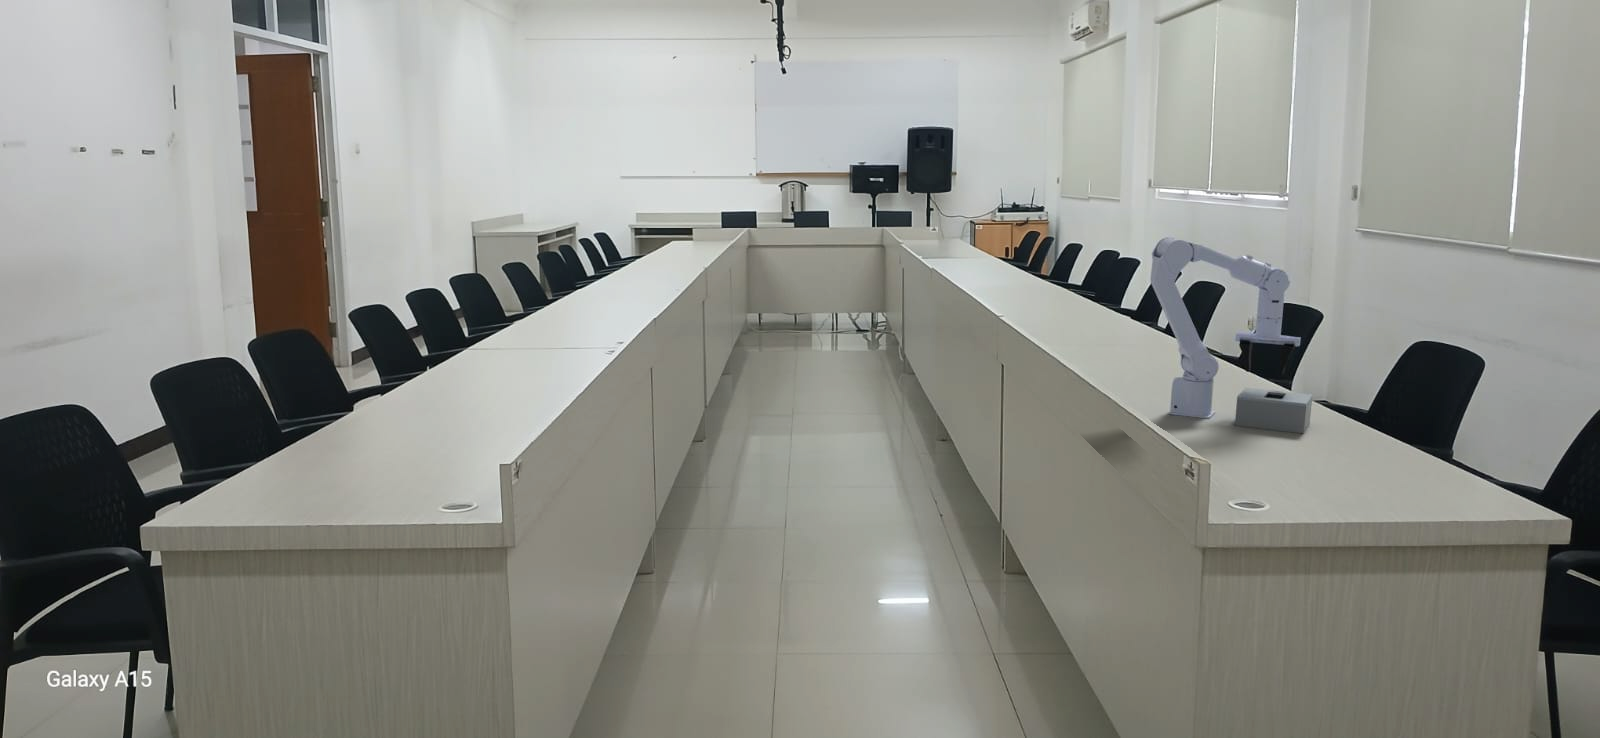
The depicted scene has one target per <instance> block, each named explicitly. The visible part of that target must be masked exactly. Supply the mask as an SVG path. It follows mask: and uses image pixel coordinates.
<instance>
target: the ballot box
mask: <svg viewBox="0 0 1600 738" xmlns="http://www.w3.org/2000/svg"><path fill="white" fill-rule="evenodd" d="M1312 402H1313V394H1310V393H1301V392H1293V391H1292V392H1291V391H1284V390H1283V391H1281V390H1273V389H1272V390H1271V389H1265V388H1264V389H1263V388H1261V389H1260V388H1252V387H1244V389H1243V390H1242V391H1241V392H1240V393H1239V394H1238V395H1237V397H1236V409H1235V422H1234V426H1236V427H1244V428H1253V429H1263V430H1270V431H1278V432H1279V431H1280V432H1287V433H1296V434H1305V432H1306V430H1307V429H1308V428H1309V425H1310V424H1311V414H1312V413H1311V412H1312Z"/></svg>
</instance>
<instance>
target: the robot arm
mask: <svg viewBox="0 0 1600 738" xmlns="http://www.w3.org/2000/svg"><path fill="white" fill-rule="evenodd" d="M1151 257H1152V259H1151V260H1152V262H1151V272H1150V278H1149V279H1150V284H1151V286H1152V288H1153V290H1154V293H1155V295H1156V297H1157V299H1158V301H1159V303H1160V304H1159V305H1160V306H1161V308H1162V311H1163V312H1164V314H1165V318H1166V320H1167V321H1168V324H1169V326H1170V328H1171V330H1172V332H1173V335H1174V336H1175V339H1176V342H1177V343H1178V352H1179V354H1180V366H1181V368H1182V370H1183V371H1184V372H1183V374H1182V377H1180V376H1175V377H1174V378H1173V381H1172V385H1171V394H1170V406H1169V407H1170V408H1169V409H1170V410H1169V415H1173V416H1182V417H1190V418H1191V417H1192V418H1197V419H1199V418H1201V419H1208V420H1209V419H1211V418H1212V417H1213V415H1215V413H1216V411H1215V410H1212V407H1213V405H1212V404H1213V403H1212V402H1213V395H1214V394H1213V393H1214V382H1215V376H1216V375H1217V374H1218V371H1219V362H1218V360H1217V359H1216V357H1214V356H1213V355H1212V354H1210V352H1209V350H1208V348H1207V346H1206V345H1205V344H1204V342H1203V341H1202V340H1201V338H1200V336H1199V334H1198V331H1197V328H1196V327H1195V325H1194V323H1193V321H1192V317H1191V316H1190V314H1189V311H1188V309H1187V307H1186V305H1185V303H1184V300H1183V298H1182V296H1181V293H1180V291H1179V288H1178V287H1177V285H1176V280H1177V278H1178V275H1179V274H1180V272H1181V271H1182V270H1183V269H1184V268H1185V267H1186V266H1187V265H1188V264H1189V263H1190V262H1192V263H1196V262H1199V261H1203V262H1206V263H1207V264H1211V265H1213V266H1217V267H1219V268H1222V269H1224V270H1228V272H1229V274H1230V277H1231V278H1233V279H1235V280H1237V281H1241V282H1243V283H1246V284H1248V285H1251V286H1254V287H1257V288H1258V289H1259V290H1258V301H1257V313H1256V320H1255V321H1256V323H1255V324H1256V325H1255V333H1254V332H1253V333H1252V332H1236V333H1235V338H1234V339H1235V342H1239V344H1238V346H1239V349H1240V350H1241V354H1242V357H1243V359H1244V364H1245V372H1247V373H1249V372H1251V369H1252V367H1251V366H1252V350H1253V344H1254V343H1258V344H1271V345H1282V346H1281V359H1280V360H1281V361H1280V367H1279V376H1284V374H1285V369H1286V366H1287V363H1288V361H1289V359H1290V357H1291V355H1292V353H1293V351H1294V350H1295V348H1296V347H1300V346H1301V338H1302V337H1301V336H1300V337H1297V336H1290V335H1282V334H1281V333H1282V323H1283V313H1284V302H1285V293H1286V291H1287V290H1288V288H1289V286H1290V285H1291V284H1290V283H1291V281H1290V280H1289V276H1288V274H1287V272H1286V271H1285V270H1284V269H1279V268H1276V267H1273V266H1271V265H1272V263H1269V262H1265V263H1263V262H1261V261H1258V260H1255V259H1254V256H1253V255H1249V254H1246V255H1239V256H1236V257H1233V256H1230V255H1229V254H1226V253H1223V252H1220V251H1218V250H1216V249H1214V248H1211V247H1209V246H1206V245H1203V244H1202V243H1197V242H1192V241H1187V240H1183V239H1176V238H1174V237H1169V236H1166V237H1163V238H1162V239H1160V240H1159V241H1158V242H1157V243H1156V245H1155V247H1154V248H1153V251H1152V252H1151Z"/></svg>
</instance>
